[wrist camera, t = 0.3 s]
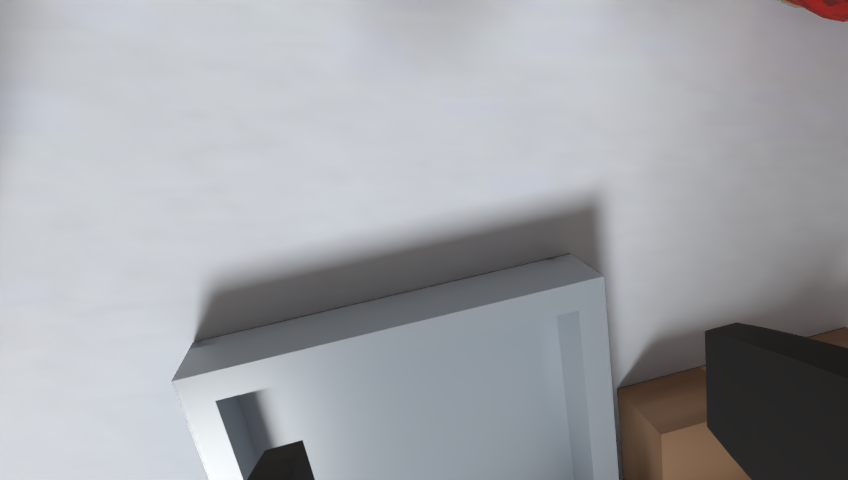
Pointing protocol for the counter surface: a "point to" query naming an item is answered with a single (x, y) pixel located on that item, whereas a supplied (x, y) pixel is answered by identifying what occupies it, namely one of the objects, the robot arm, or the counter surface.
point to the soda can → (823, 7)
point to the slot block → (678, 427)
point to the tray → (420, 384)
